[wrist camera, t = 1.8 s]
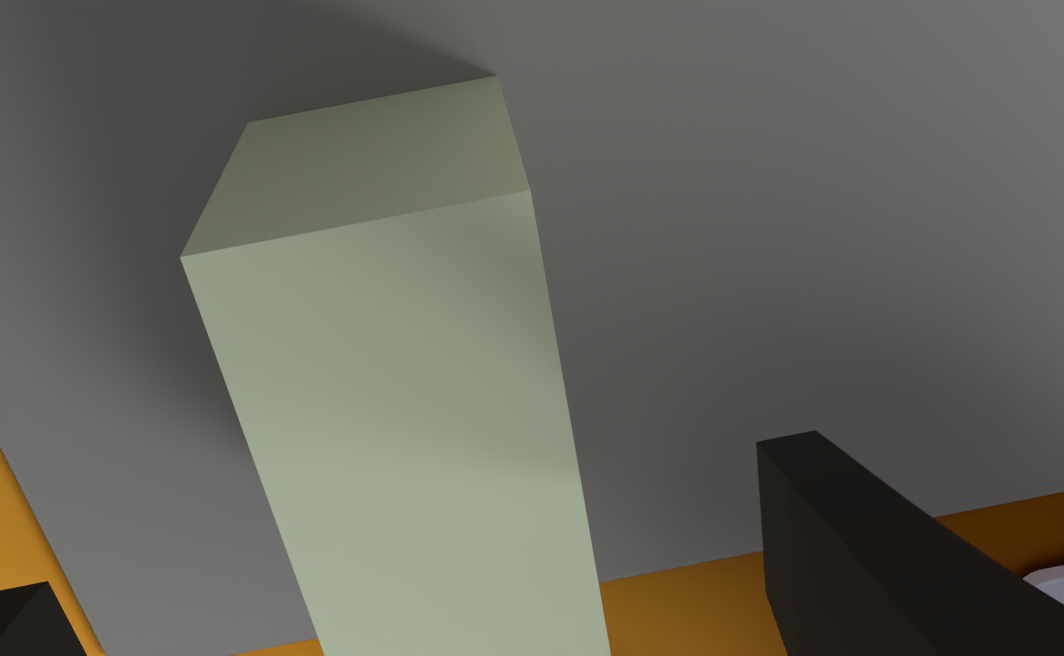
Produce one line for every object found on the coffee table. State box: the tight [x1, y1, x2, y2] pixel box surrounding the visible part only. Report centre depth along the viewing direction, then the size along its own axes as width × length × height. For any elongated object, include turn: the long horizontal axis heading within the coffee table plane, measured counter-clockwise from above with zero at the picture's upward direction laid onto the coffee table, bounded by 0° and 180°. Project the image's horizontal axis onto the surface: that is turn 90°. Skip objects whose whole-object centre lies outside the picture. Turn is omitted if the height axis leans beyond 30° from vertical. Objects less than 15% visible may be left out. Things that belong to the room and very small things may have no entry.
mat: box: [0, 0, 1064, 656], centre depth 14 cm, size 20×22×1 cm
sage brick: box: [180, 75, 611, 656], centre depth 14 cm, size 7×4×5 cm, turn 9°
